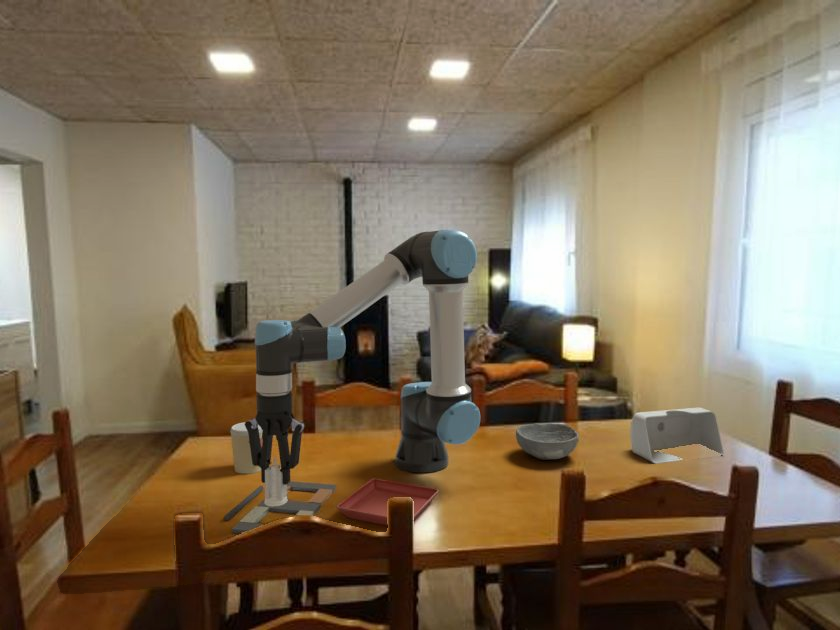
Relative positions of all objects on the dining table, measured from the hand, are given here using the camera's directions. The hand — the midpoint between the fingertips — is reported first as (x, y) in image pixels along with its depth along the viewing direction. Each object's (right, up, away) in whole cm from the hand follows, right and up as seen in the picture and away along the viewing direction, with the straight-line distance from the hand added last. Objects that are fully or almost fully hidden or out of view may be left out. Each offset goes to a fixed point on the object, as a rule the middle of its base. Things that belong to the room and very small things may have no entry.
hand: (276, 497), depth 120 cm
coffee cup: (-15, -3, +31) cm, 35 cm away
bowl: (+69, -2, +40) cm, 80 cm away
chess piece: (0, -1, 0) cm, 1 cm away
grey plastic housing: (+107, -2, +46) cm, 117 cm away
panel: (+1, -5, +7) cm, 8 cm away
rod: (-10, -5, +9) cm, 14 cm away
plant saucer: (+25, -5, +6) cm, 26 cm away
